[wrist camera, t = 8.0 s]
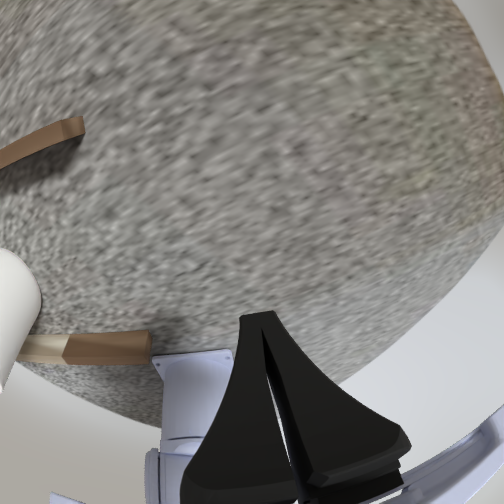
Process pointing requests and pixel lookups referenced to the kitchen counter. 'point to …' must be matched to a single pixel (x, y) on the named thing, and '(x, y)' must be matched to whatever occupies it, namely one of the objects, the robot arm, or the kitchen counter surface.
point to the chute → (74, 345)
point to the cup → (15, 308)
